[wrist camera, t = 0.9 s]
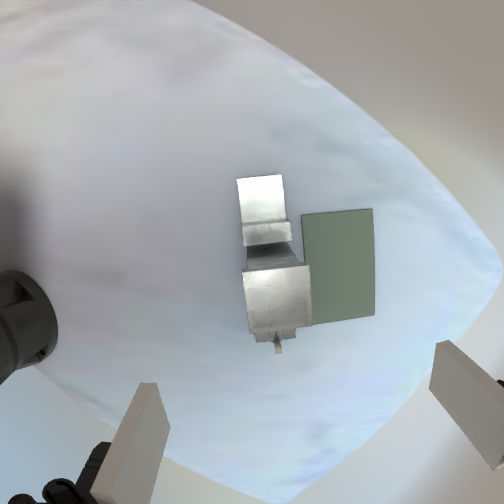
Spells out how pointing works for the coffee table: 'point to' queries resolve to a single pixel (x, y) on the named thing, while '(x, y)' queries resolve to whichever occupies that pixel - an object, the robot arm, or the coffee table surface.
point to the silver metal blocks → (265, 227)
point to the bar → (276, 288)
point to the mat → (340, 264)
